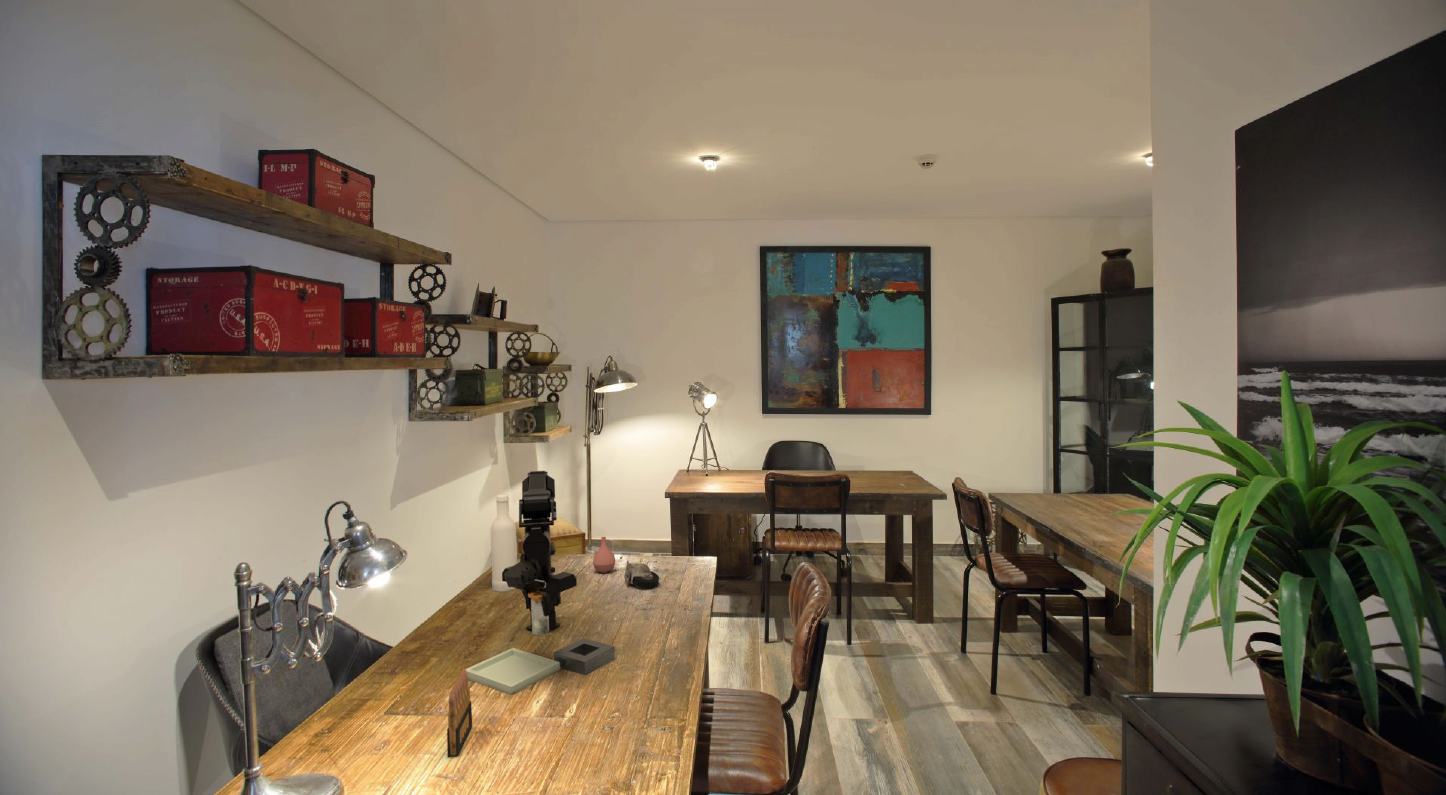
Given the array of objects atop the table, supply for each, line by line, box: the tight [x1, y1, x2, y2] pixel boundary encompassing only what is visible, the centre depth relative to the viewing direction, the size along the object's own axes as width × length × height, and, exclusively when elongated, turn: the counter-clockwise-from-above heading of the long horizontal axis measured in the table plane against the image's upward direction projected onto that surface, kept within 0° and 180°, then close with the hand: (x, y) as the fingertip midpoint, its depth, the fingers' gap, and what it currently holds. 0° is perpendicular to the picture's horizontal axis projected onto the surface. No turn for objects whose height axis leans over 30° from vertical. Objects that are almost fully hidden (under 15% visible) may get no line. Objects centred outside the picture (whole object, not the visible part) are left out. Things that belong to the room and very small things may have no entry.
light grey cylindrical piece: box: [528, 587, 550, 636], centre depth 156 cm, size 5×5×10 cm
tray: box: [465, 647, 561, 696], centre depth 154 cm, size 16×14×2 cm
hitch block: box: [553, 637, 616, 676], centre depth 160 cm, size 10×10×3 cm
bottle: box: [490, 494, 518, 593], centre depth 215 cm, size 8×8×30 cm
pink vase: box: [592, 536, 616, 574], centre depth 231 cm, size 8×8×12 cm
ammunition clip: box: [446, 667, 473, 758], centre depth 126 cm, size 11×2×12 cm, turn 7°
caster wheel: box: [623, 559, 660, 590], centre depth 216 cm, size 7×11×10 cm
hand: (539, 614), depth 156 cm, fingers closed on light grey cylindrical piece, 4 cm apart
